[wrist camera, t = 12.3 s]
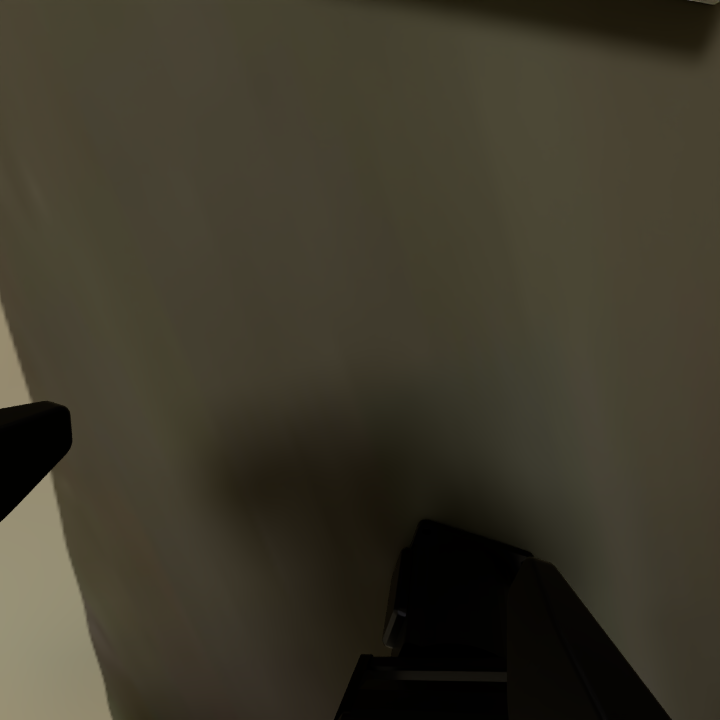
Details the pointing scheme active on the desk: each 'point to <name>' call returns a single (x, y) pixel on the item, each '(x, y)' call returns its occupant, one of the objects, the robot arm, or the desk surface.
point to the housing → (707, 1)
